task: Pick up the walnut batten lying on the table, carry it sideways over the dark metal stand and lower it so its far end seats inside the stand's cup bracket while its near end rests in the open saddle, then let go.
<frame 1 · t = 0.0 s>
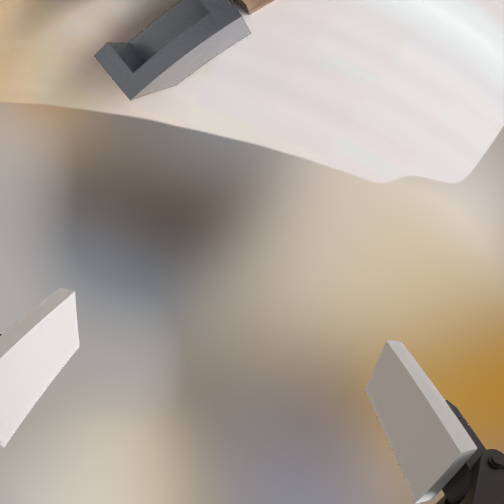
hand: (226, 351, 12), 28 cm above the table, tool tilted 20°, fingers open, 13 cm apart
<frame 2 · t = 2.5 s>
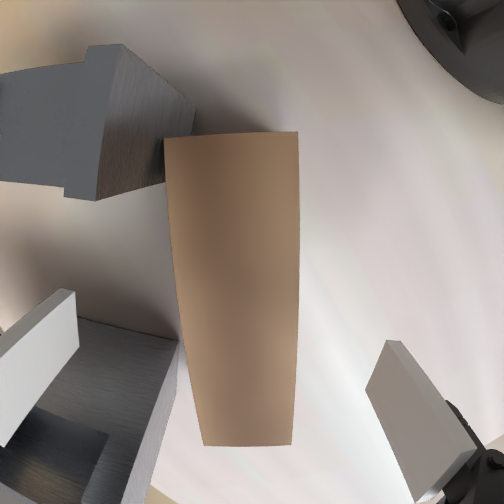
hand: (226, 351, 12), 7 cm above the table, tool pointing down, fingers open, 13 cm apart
walnut rail: (243, 280, 19), on the table
cup bracket stand: (109, 257, 18), on the table
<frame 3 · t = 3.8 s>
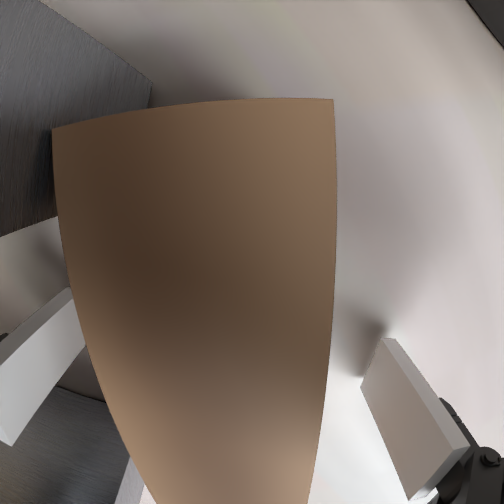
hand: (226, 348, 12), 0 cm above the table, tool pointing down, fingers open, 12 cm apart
walnut rail: (230, 343, 13), on the table
cup bracket stand: (45, 305, 12), on the table
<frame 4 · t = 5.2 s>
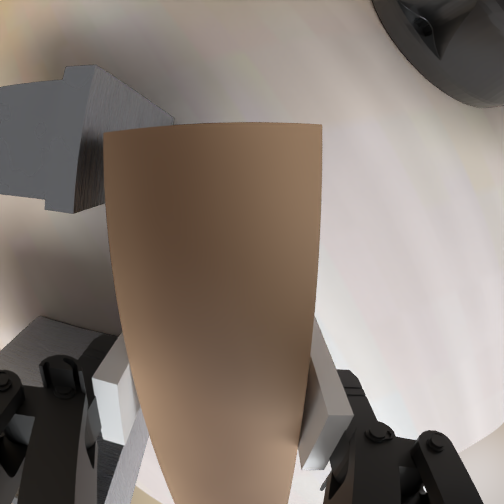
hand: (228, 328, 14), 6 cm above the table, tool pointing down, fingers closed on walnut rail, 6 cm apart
walnut rail: (229, 323, 14), point 5 cm above the table, touching gripper
cup bracket stand: (92, 264, 18), on the table
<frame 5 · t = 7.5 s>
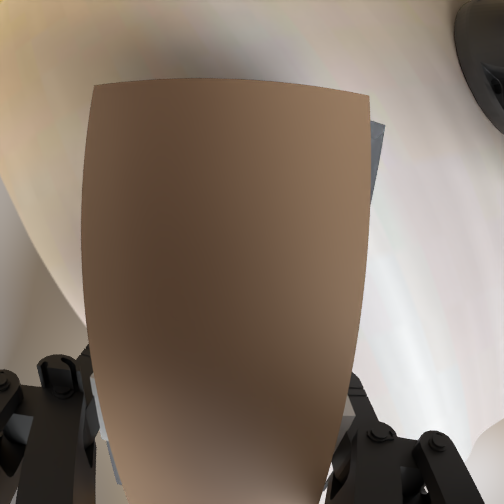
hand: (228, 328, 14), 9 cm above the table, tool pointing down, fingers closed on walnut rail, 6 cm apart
walnut rail: (222, 362, 12), point 12 cm above the table, tilted 10°, touching gripper
cup bracket stand: (238, 261, 23), on the table
when the fingers open (8 cm above the table, at t = 7.9 s): walnut rail drops 2 cm, resting on cup bracket stand.
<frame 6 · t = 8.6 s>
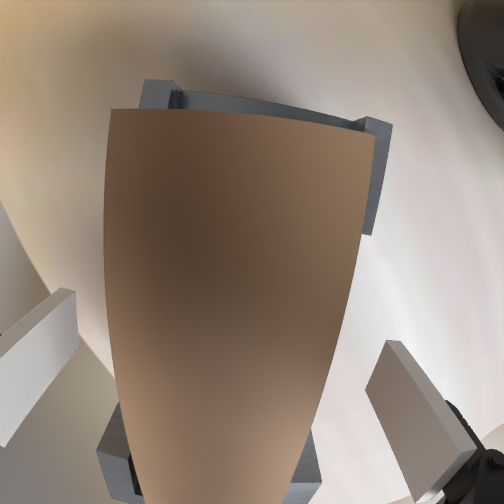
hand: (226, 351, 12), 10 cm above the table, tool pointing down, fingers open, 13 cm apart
walnut rail: (225, 336, 13), point 9 cm above the table, touching cup bracket stand
cup bracket stand: (235, 268, 22), on the table
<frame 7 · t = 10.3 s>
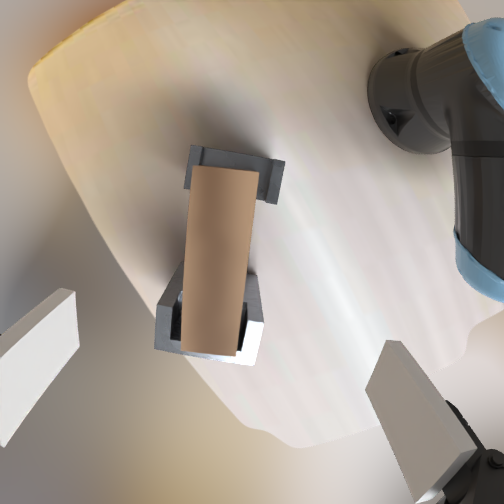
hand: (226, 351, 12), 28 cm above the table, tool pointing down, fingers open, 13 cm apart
walnut rail: (219, 250, 31), point 9 cm above the table, touching cup bracket stand
cup bracket stand: (225, 231, 40), on the table
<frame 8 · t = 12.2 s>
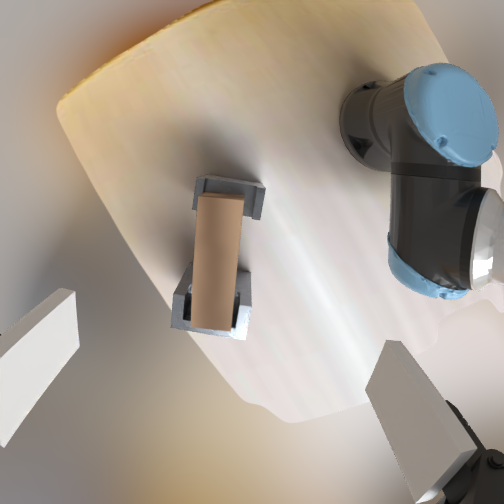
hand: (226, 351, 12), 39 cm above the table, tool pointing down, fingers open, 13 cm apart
walnut rail: (219, 253, 42), point 9 cm above the table, touching cup bracket stand
cup bracket stand: (225, 238, 50), on the table
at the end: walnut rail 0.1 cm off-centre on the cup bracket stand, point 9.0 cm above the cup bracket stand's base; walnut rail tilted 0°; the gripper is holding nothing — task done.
